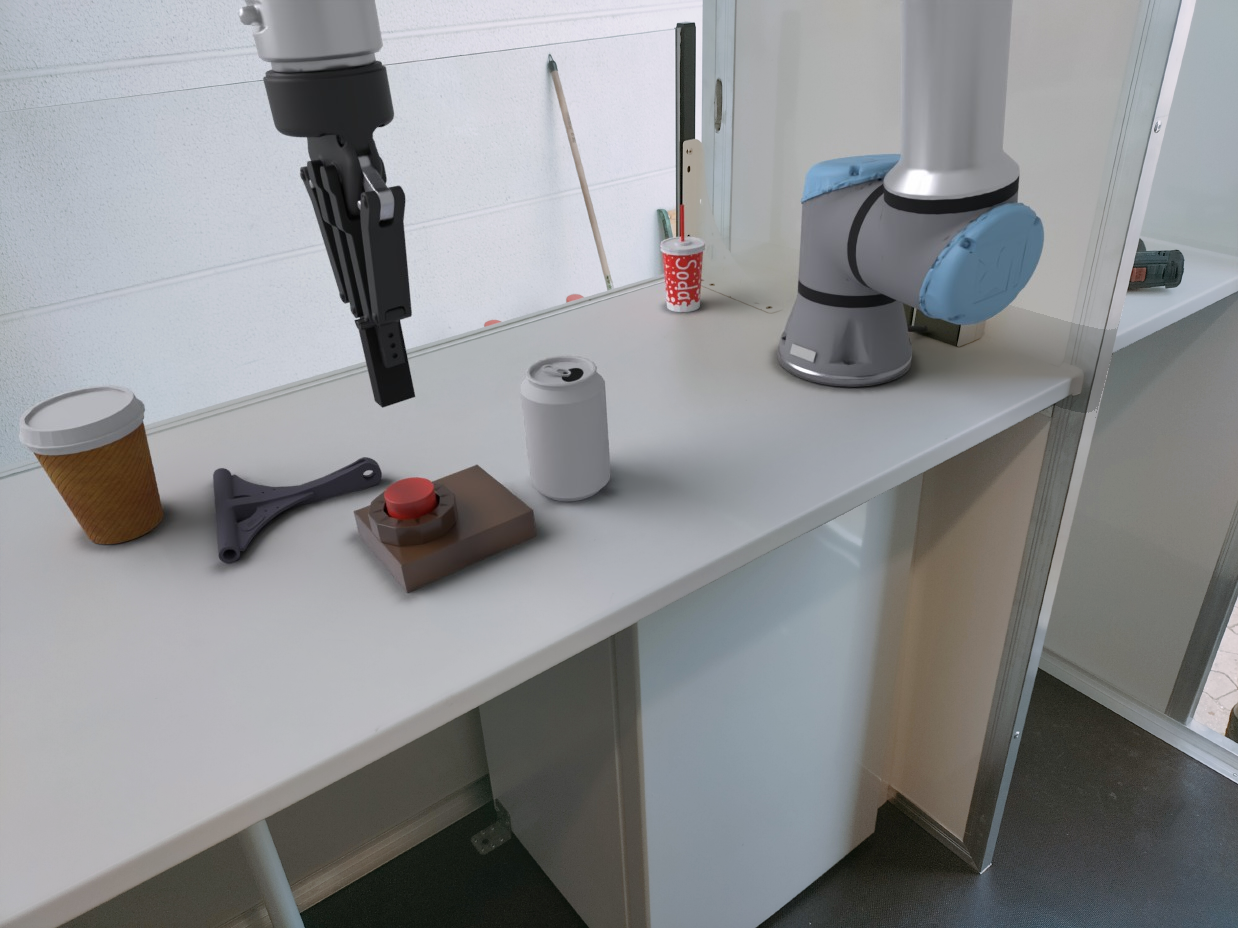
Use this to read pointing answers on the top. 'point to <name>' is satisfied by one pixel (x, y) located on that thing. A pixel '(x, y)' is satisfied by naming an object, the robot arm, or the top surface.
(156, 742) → the top surface
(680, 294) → the beverage cup
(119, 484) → the disposable coffee cup
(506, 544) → the button box
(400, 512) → the button
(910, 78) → the robot arm
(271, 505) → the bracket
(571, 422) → the can
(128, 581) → the top surface
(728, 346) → the top surface
